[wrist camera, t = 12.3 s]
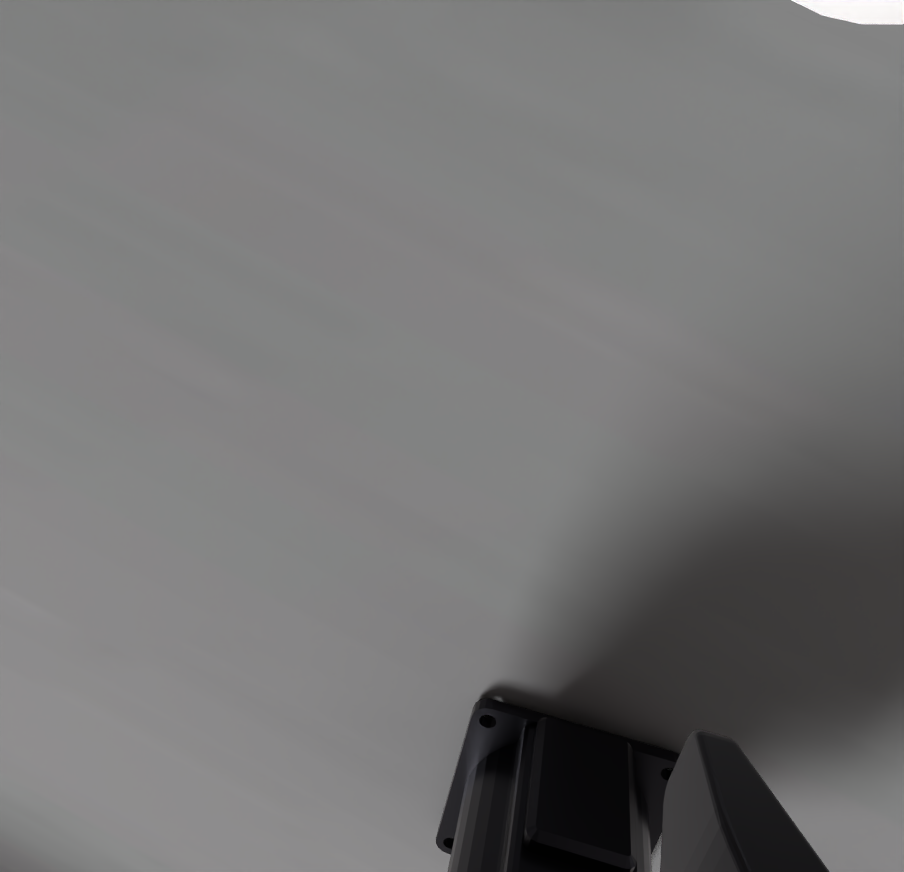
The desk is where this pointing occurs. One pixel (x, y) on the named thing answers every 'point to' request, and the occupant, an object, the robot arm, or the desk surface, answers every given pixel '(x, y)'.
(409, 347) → the desk surface
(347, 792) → the desk surface
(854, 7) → the hook
